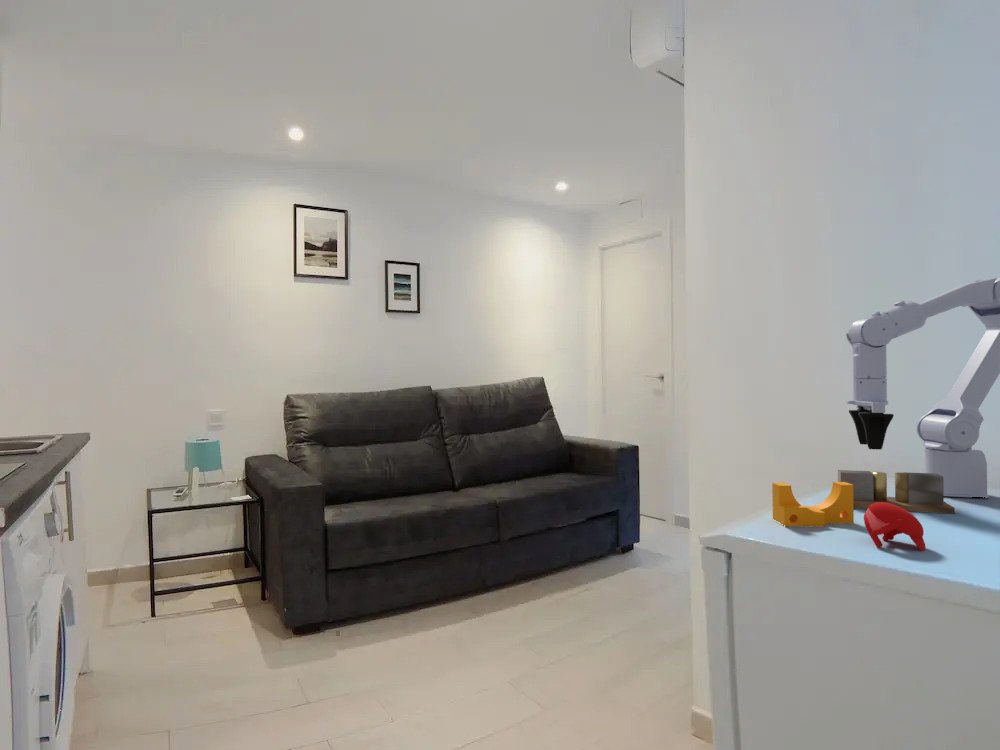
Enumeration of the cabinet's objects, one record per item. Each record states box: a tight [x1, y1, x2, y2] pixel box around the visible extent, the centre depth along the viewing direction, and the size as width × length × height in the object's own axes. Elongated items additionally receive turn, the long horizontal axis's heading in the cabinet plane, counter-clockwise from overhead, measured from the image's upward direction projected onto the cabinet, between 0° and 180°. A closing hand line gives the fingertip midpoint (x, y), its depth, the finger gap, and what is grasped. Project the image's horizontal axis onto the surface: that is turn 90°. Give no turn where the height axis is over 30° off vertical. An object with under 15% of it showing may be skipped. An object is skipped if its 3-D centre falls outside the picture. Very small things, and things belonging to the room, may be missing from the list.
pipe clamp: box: [771, 481, 855, 527], centre depth 99 cm, size 12×4×6 cm, turn 89°
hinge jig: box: [853, 472, 956, 514], centre depth 109 cm, size 17×7×6 cm, turn 70°
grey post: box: [837, 469, 888, 502], centre depth 111 cm, size 8×3×5 cm, turn 70°
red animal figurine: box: [863, 502, 926, 552], centre depth 86 cm, size 8×6×6 cm
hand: (870, 446), depth 120 cm, fingers open, 7 cm apart
